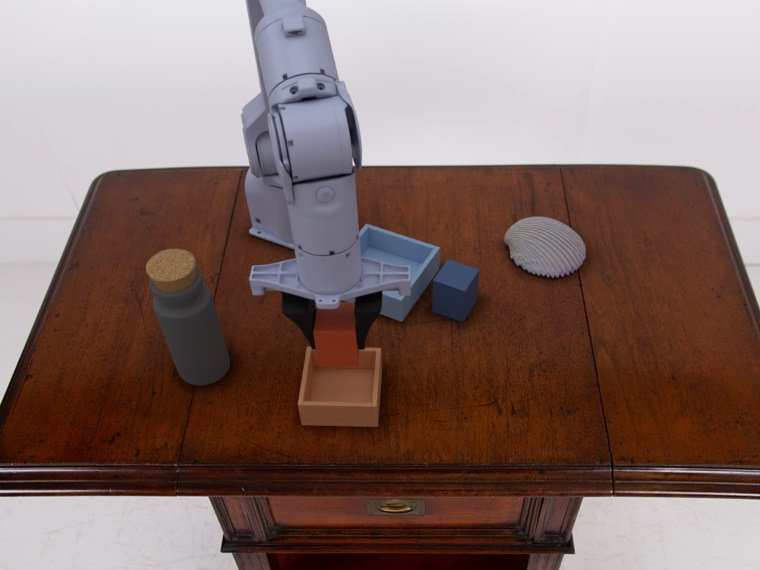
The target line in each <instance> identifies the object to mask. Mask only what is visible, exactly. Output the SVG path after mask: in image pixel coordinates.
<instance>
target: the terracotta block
mask: <svg viewBox="0 0 760 570" xmlns="http://www.w3.org/2000/svg"><path fill="white" fill-rule="evenodd" d="M315 307H316V306H315ZM354 307H355V302H345V301H340V305H339V307H338V308H336V309H319V308H317V307H316V315H315V323H314V330H313V333H314V339H315V346H316V352H317V359H318V365H319V366H359V353H360V350H358V345H357V325H356V319H355V315H354Z"/></svg>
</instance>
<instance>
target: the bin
mask: <svg viewBox="0 0 760 570" xmlns="http://www.w3.org/2000/svg"><path fill="white" fill-rule="evenodd" d="M359 237H360V251H361V257H365V258H369V259H373V260H377V261H381V262H385V263H389V264H394V265H400V266H411V295H410V296H400V295H399V291H383V294H382V309H381V312H380V314H379V315H381V316H384V317H387V318H390V319H392V320H395V321H398V322H401V323H402V322H404V320H405V318H406V317H407V315H409V313H410V311H411V310H412V308H413V307H414V306H415V304H416V303H417V301H418V300H419V298H420V297H421V295H423V293H424V291H425V290H426V289H427V287H428V285H430V283H431V281H433V280H434V278H435V277H436V275H437V274H438V273H439V271H440V262H441V260H440V259H441V247H440V246H438V245H433V244H431V243H429V242H428V243H427V242H424V241H422V240H418V239H415V238H412V237H410V236H406V235H403V234H399V233H397V232H394V231H391V230H388V229H384V228H380V227H378V226H376V225H372V224H369V223H365V224H364V226H363V227H361V229H359ZM341 302H355V297H354V298H350V299H346V300H342V301H341Z"/></svg>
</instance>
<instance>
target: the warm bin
mask: <svg viewBox="0 0 760 570" xmlns="http://www.w3.org/2000/svg"><path fill="white" fill-rule="evenodd" d="M382 360H383V359H382V348H381V347H365V349H364V350H360V353H359V366H319V365H318V359H317V352H316V350H312V349H311V346H306V350H305V357H304V363H303V369H302V375H301V382H300V388H299V394H298V401H297V407H298V412H299V418H300V423H301V426H315V427H317V426H319V427H320V426H323V427H329V426H330V427H360V428H362V427H363V428H367V427H368V428H378V427H379V417H380V404H381V392H382V390H381V389H382V379H383V378H382V377H383V376H382V375H383V362H382Z"/></svg>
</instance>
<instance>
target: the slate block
mask: <svg viewBox="0 0 760 570" xmlns="http://www.w3.org/2000/svg"><path fill="white" fill-rule="evenodd" d="M479 277H480V268H479V269H478V268H475V267H474V266H469V265H466V264H464V263H461V262H457V261H455V260H452V259H449V258H448V259H446V261H445V263H444V264H443V265H442V267H441V268H440V269H439V270H438V272H437V273H436V274H435V276H434V277H433V279H432V305H431V306H432V309H431V310H432V313H435V314H437V315H441V316H443V317H447V318H449V319H451V320H454V321H455V320H456V321H458V322H461V323H464V321H465V320H466V318H467V317H468V315H469V314H470V312H471V310H472V309H473V307H474V306H475V305H476V304H477V303H476V302H477V301H478V289H479Z"/></svg>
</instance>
